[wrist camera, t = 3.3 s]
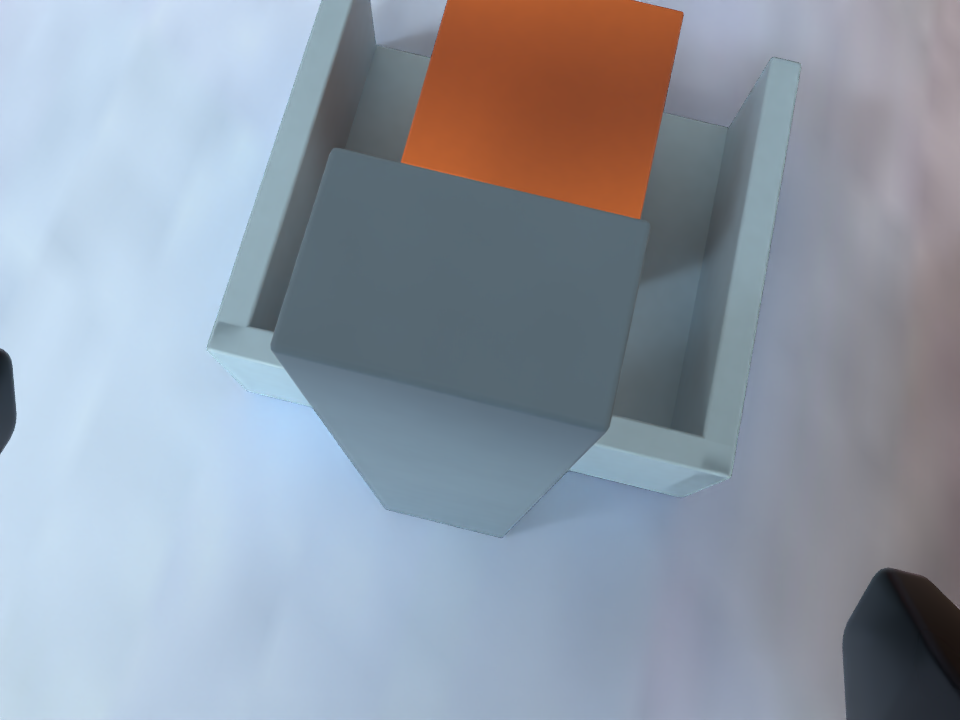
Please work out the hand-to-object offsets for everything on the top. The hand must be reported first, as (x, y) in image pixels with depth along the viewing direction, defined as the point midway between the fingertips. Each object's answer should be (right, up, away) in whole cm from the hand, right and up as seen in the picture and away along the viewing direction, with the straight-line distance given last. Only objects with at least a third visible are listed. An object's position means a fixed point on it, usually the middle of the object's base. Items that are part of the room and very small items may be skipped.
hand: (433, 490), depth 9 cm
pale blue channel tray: (+1, +3, +10) cm, 11 cm away
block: (+1, +5, +10) cm, 11 cm away
